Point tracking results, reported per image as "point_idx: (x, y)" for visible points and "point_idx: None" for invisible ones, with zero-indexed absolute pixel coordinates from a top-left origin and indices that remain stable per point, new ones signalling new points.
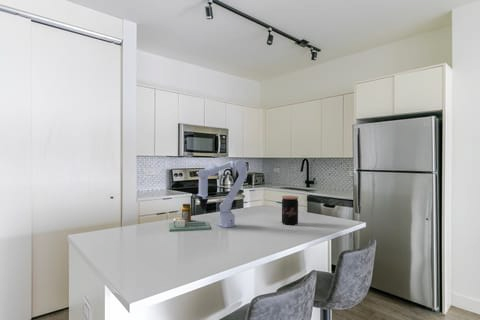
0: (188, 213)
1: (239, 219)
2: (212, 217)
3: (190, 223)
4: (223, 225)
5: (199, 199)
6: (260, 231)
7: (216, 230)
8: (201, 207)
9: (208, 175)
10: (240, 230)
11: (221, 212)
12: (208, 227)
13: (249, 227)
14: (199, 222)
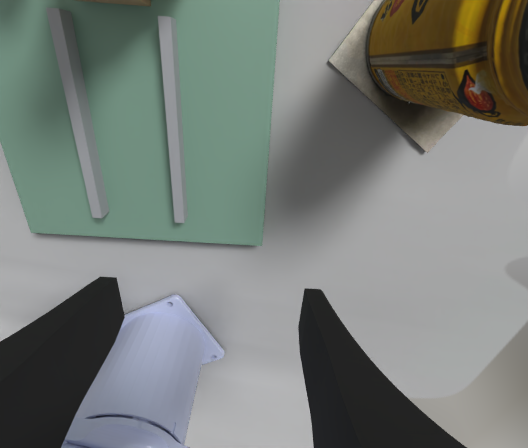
0: (411, 59)
1: None
2: (464, 311)
3: (164, 60)
4: (124, 327)
5: (348, 422)
6: None
7: (14, 260)
8: (78, 294)
9: None
10: None
11: (87, 417)
12: (27, 219)
13: None
14: (170, 169)
